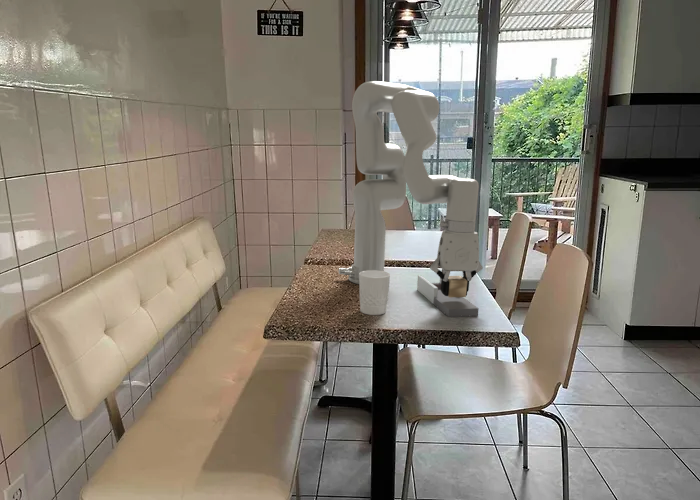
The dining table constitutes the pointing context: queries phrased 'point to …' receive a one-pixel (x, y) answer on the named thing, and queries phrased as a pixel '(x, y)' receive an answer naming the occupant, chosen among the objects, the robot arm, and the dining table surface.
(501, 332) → the dining table surface
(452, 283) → the maple block
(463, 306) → the channel
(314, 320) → the dining table surface
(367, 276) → the white cup
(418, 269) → the dining table surface
